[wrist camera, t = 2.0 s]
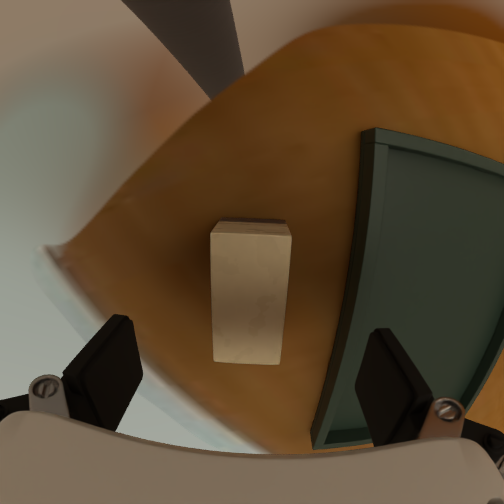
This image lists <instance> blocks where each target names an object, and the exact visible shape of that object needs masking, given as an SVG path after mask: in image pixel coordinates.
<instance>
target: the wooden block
mask: <svg viewBox="0 0 504 504" xmlns="http://www.w3.org/2000/svg"><path fill="white" fill-rule="evenodd" d="M291 243H292V236H291V233H290V231H289V229H288V226H287V223H286V221H285V220H274V219H251V218H223V217H222V218H221V219H220V220H219V222H218V223H217V224H216V226H215V227H214V229H213V230H212V232H211V233H210V264H211V309H212V336H213V358H214V361H215V362H227V363H243V364H266V365H279V364H280V356H281V347H282V339H283V330H284V320H285V311H286V301H287V290H288V279H289V268H290V256H291Z"/></svg>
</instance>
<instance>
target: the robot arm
mask: <svg viewBox="0 0 504 504" xmlns="http://www.w3.org/2000/svg"><path fill="white" fill-rule="evenodd" d="M142 377H143V370H142V365H141V361H140V356H139V351H138V347H137V342H136V337H135V331H134V326H133V322H132V320H129V317H128V316H125V315H118V314H114V315H113V316H112V317H111V318H110V319H109V320H108V321H107V322H106V323H105V324H104V325H103V326H102V328H101V329H100V330H99V331H98V332H97V333H96V334H95V335H94V336H93V338H92V339H91V340H90V341H89V342H88V343H87V344H86V345H85V347H84V348H83V349H82V350H81V351H80V352H79V353H78V355H77V356H76V357H75V358H74V359H73V360H72V362H71V363H70V364H69V365H68V366H67V367H66V369H65V370H64V371H63V377H62V378H61V379H60V378H59V377H57V376H55V375H42V376H40V377H38V378H36V379H34V380H33V381H32V383H31V384H30V386H29V394H25V395H21V396H17V397H12V398H8V399H4V400H0V504H504V434H503V433H502V432H501V431H499V430H497V429H494V428H491V427H488V426H485V425H482V424H479V423H476V422H474V421H471V420H468V419H465V409H464V407H463V405H462V404H461V403H460V402H459V401H457V400H456V399H454V398H451V397H439V398H436V399H434V397H433V395H432V394H433V392H432V391H431V389H430V388H429V386H428V384H427V383H426V381H425V380H424V378H423V377H422V375H421V374H420V372H419V370H418V369H417V367H416V366H415V364H414V363H413V361H412V360H411V358H410V357H409V355H408V354H407V352H406V351H405V349H404V348H403V347H402V345H401V344H400V342H399V341H398V339H397V338H396V336H395V335H394V334H393V332H392V331H391V329H390V328H376V329H375V330H374V332H371V333H370V335H369V338H368V342H367V345H366V349H365V352H364V356H363V359H362V362H361V366H360V369H359V372H358V375H357V378H356V381H355V392H356V395H357V397H358V400H359V403H360V406H361V409H362V412H363V415H364V418H365V421H366V423H367V426H368V429H369V432H370V435H371V439H372V442H373V445H374V447H371V448H364V449H356V450H348V451H339V452H328V453H314V454H245V453H230V452H219V451H209V450H202V449H195V448H188V447H181V446H175V445H170V444H165V443H160V442H155V441H150V440H146V439H141V438H137V437H133V436H129V435H125V434H122V433H118V432H115V431H116V429H117V427H118V425H119V423H120V421H121V419H122V417H123V415H124V413H125V411H126V409H127V407H128V405H129V403H130V401H131V399H132V397H133V396H134V394H135V392H136V390H137V388H138V386H139V384H140V382H141V380H142Z"/></svg>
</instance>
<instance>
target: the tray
mask: <svg viewBox="0 0 504 504" xmlns="http://www.w3.org/2000/svg"><path fill="white" fill-rule="evenodd" d="M376 328H390V329H391V331H392V332H393V334H394V335H395V336H396V338H397V339H398V341H399V342H400V344H401V345H402V347H403V348H404V349H405V351H406V352H407V354H408V355H409V357H410V358H411V360H412V361H413V363H414V364H415V366H416V367H417V369H418V370H419V372H420V374H421V375H422V377H423V378H424V380H425V381H426V383H427V384H428V386H429V388H430V389H431V391H432V392H433V394H432V395H433V397H434V399H436V398H439V397H451V398H454V399H456V400H457V401H459V402H460V403H461V404H462V405H463V407H464V409H465V415H466V413H467V412H468V410H469V409H470V407H471V406H472V404H473V403H474V401H475V399H476V398H477V396H478V395H479V393H480V391H481V390H482V388H483V386H484V384H485V383H486V381H487V379H488V377H489V375H490V374H491V372H492V370H493V368H494V366H495V364H496V362H497V360H498V358H499V356H500V354H501V352H502V350H503V348H504V164H502V163H500V162H497V161H495V160H492V159H489V158H487V157H484V156H481V155H478V154H476V153H473V152H470V151H467V150H464V149H461V148H457V147H454V146H451V145H447V144H444V143H441V142H437V141H433V140H430V139H426V138H422V137H418V136H414V135H410V134H405V133H401V132H396V131H392V130H387V129H382V128H372V129H369V130H364V131H362V132H361V153H360V171H359V185H358V197H357V207H356V217H355V226H354V234H353V242H352V249H351V256H350V263H349V270H348V276H347V282H346V288H345V294H344V299H343V304H342V310H341V315H340V320H339V325H338V329H337V334H336V339H335V343H334V347H333V352H332V356H331V360H330V364H329V368H328V372H327V376H326V380H325V384H324V387H323V391H322V395H321V398H320V402H319V405H318V409H317V412H316V415H315V418H314V422H313V425H312V428H311V431H310V434H311V442H312V449H313V450H317V449H330V448H339V447H348V446H356V445H362V444H369V443H373V442H372V439H371V435H370V432H369V429H368V426H367V423H366V421H365V418H364V415H363V412H362V409H361V406H360V403H359V400H358V397H357V395H356V392H355V381H356V378H357V375H358V372H359V369H360V366H361V362H362V359H363V356H364V352H365V349H366V345H367V342H368V338H369V335H370V333H371V332H374V330H375V329H376Z"/></svg>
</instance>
